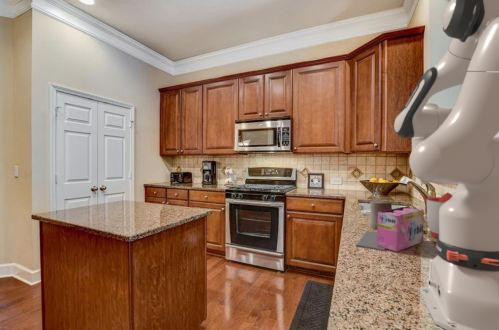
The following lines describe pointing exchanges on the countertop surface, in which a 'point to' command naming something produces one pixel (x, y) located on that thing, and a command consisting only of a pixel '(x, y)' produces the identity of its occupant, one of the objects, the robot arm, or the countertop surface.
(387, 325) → the countertop surface
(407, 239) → the gum box
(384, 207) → the pillar candle
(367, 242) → the mat
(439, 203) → the citrus juicer
